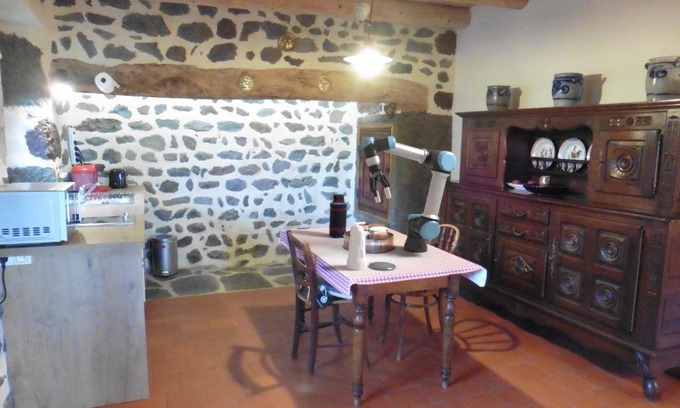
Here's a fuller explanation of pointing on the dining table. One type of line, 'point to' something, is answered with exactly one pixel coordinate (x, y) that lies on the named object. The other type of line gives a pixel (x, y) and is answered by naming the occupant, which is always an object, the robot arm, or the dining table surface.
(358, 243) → the decorative vase
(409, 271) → the dining table surface
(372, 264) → the disc
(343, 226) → the black thermos flask
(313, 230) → the dining table surface
